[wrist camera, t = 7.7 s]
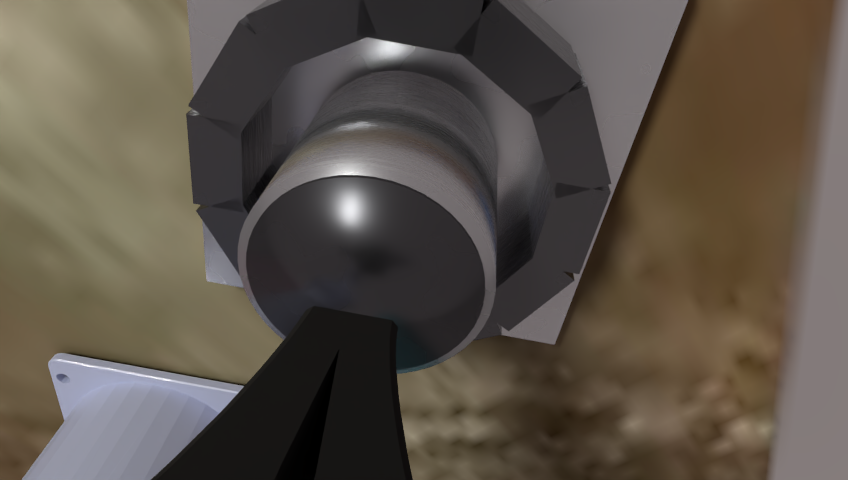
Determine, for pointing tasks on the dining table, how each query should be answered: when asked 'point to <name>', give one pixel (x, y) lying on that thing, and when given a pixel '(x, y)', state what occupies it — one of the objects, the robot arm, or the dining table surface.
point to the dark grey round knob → (382, 217)
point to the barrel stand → (466, 72)
